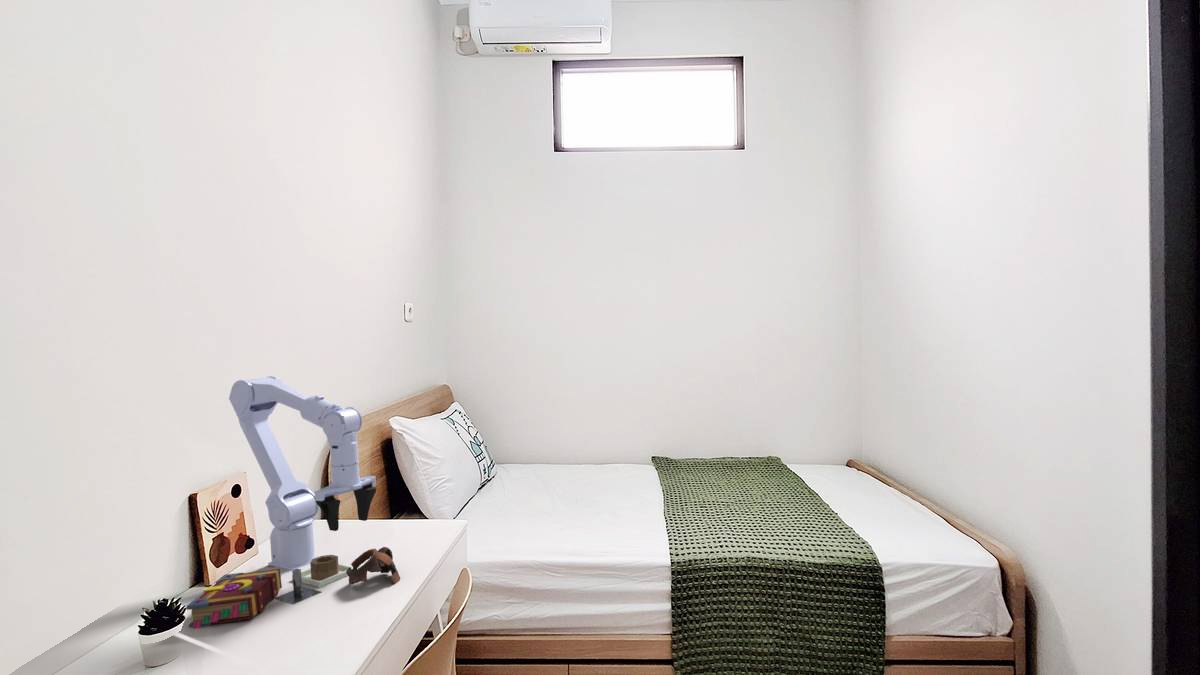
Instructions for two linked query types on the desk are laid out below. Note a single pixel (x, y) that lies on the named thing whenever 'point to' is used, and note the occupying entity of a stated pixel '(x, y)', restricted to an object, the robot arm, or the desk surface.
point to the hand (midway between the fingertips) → (348, 525)
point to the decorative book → (235, 598)
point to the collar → (324, 567)
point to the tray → (307, 579)
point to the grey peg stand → (297, 590)
